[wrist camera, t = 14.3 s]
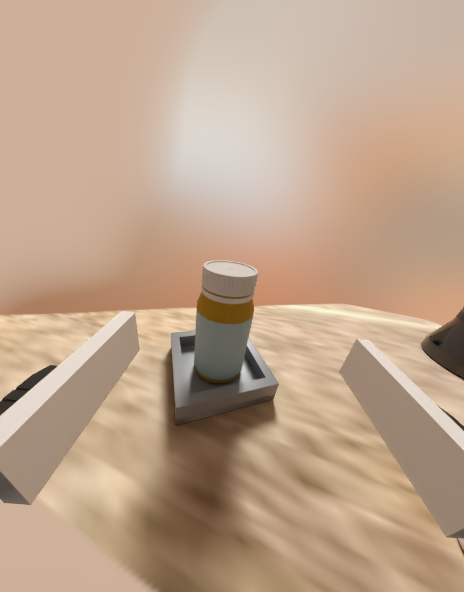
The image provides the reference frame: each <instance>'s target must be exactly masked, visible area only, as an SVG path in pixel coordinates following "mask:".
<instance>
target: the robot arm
mask: <svg viewBox="0 0 464 592" xmlns="http://www.w3.org/2000/svg"><path fill="white" fill-rule="evenodd" d="M421 347H422V349H423V350H424V351H425V352H426V353H427V354H428V355H429V356H430V357H431V358H432V359H434V360H435V361H436V362H438V363H439V364H441V365H442V366H444V367H445V368H447V369H448V370H450V371H452V372H454V373H455V374H457V375H459V376H461V377H463V378H464V307H463V309H462V310H461V311H460V312H459V314H458V315H457V316H456V317H455V318H454V319H453V320H452V321H450V322H449V323H447V324H445V325H444V326H442V327H440V328H439V329H437V330H435V331H434V332H432V333H430V334H429V335H428V336H426V338H425V339H424V340H423V342H422V343H421ZM139 350H140V349H139V341H138V333H137V325H136V317H135V313H132V312H124V311H121V312H120V313H119V314H118V315H116V316H115V317H114V318H113V319H112V320H111V321H109V322H108V323H107V324H106V325H105V326H104V327H103V328H101V329H100V330H99V331H98V332H97V333H96V334H94V335H93V336H92V337H91V338H90V339H89V340H87V341H86V342H85V343H84V344H83V345H82V346H80V347H79V348H78V349H77V350H76V351H75V352H74V353H72V354H71V355H70V356H69V357H68V358H67V359H65V360H64V361H63V362H62V363H61V364H60V365H58V366H54V365H50V366H48V367H46V368H44V369H42V370H41V371H39V372H37V373H35V374H33V375H32V376H30V377H29V378H28V379H27V380H25V381H24V382H23V383H22V384H20V385H19V386H18V387H17V388H16V390H13V391H12V392H10V393H9V394H8V395H7V396H5V397H4V398H3V400H2V401H1V402H0V499H1V500H2V501H3V502H4V503H14V504H26V505H31V504H32V503H33V501H34V500H35V498H36V497H37V495H38V494H39V493H40V491H41V490H42V488H43V487H44V485H45V484H46V483H47V481H48V480H49V478H50V477H51V475H52V474H53V473H54V471H55V470H56V468H57V467H58V465H59V464H60V463H61V461H62V460H63V458H64V457H65V455H66V454H67V453H68V451H69V450H70V448H71V447H72V446H73V444H74V443H75V441H76V440H77V438H78V437H79V436H80V434H81V433H82V431H83V430H84V428H85V427H86V426H87V424H88V423H89V421H90V420H91V418H92V417H93V416H94V414H95V413H96V411H97V410H98V408H99V407H100V406H101V404H102V403H103V401H104V400H105V398H106V397H107V396H108V394H109V393H110V391H111V390H112V388H113V387H114V386H115V384H116V383H117V381H118V380H119V378H120V377H121V376H122V374H123V373H124V371H125V370H126V368H127V367H128V366H129V364H130V363H131V361H132V360H133V359H134V357H135V356H136V354H137V353H138V351H139ZM339 372H340V374H341V375H342V377H343V378H344V380H345V381H346V383H347V385H348V386H349V388H350V389H351V391H352V392H353V394H354V395H355V397H356V398H357V400H358V401H359V403H360V405H361V406H362V408H363V409H364V411H365V412H366V414H367V415H368V417H369V418H370V420H371V422H372V423H373V425H374V426H375V428H376V429H377V431H378V432H379V434H380V435H381V437H382V439H383V440H384V442H385V443H386V445H387V446H388V448H389V449H390V451H391V452H392V454H393V455H394V457H395V459H396V460H397V462H398V463H399V465H400V466H401V468H402V469H403V471H404V472H405V474H406V476H407V477H408V479H409V480H410V482H411V483H412V485H413V486H414V488H415V489H416V491H417V493H418V494H419V496H420V497H421V499H422V500H423V502H424V503H425V505H426V506H427V508H428V509H429V511H430V513H431V514H432V516H433V517H434V519H435V520H436V522H437V523H438V525H439V526H440V528H441V530H442V531H443V533H444V534H445V536H446V537H451V538H464V426H463V425H461V424H460V423H459V422H458V421H457V420H456V419H455V418H454V417H453V416H451V415H450V414H448V413H447V412H446V411H444V410H443V409H442V408H440V407H439V406H437V405H436V404H435V403H434V402H433V401H432V400H431V399H430V398H429V397H428V396H427V395H426V394H425V393H424V392H423V391H422V390H421V389H419V388H418V387H417V386H416V385H415V384H414V383H413V382H412V381H411V380H410V379H409V378H408V377H407V376H406V375H405V374H404V373H403V372H402V371H401V370H400V369H399V368H398V367H397V366H396V365H394V364H393V363H392V362H391V361H390V360H389V359H388V358H387V357H386V356H385V355H384V354H383V353H382V352H381V351H380V350H379V349H378V348H377V347H376V346H375V345H374V344H373V343H372V342H370V341H369V340H363V339H356V341H355V343H354V345H353V347H352V349H351V351H350V352H349V354H348V356H347V358H346V360H345V362H344V364H343V366H342V367H341V369H340V371H339Z"/></svg>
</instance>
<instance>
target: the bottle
mask: <svg viewBox="0 0 464 592" xmlns="http://www.w3.org/2000/svg"><path fill="white" fill-rule="evenodd" d="M257 276H258V271H257V270H256V269H255V268H254V267H252V266H249V265H247V264H243V263H239V262H234V261H225V260H214V261H208V262H206V263H205V264H204V266H203V275H202V292H201V295H200V297H199V299H198V301H197V315H196V333H195V352H194V368H195V370H196V372H197V374H198V375H199V376H200V377H201V378H203V379H205V380H207V381H209V382H212V383H227V382H229V381H232V380H234V379H235V378H236V377H237V376H238V375H239V374H240V372H241V369H242V366H243V361H244V356H245V351H246V347H247V342H248V337H249V333H250V328H251V323H252V318H253V312H254V304H253V295H254V290H255V286H256V281H257Z"/></svg>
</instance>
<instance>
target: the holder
mask: <svg viewBox="0 0 464 592" xmlns="http://www.w3.org/2000/svg"><path fill="white" fill-rule="evenodd" d="M195 333H196V331H187V332H176V333H171V353H172V370H173V387H174V404H175V421H176V425H180V424H183V423H187V422H191V421H194V420H198V419H202V418H206V417H209V416H213V415H217V414H220V413H224V412H228V411H232V410H235V409H239V408H243V407H246V406H250V405H254V404H257V403H261V402H265V401H269V400H272V399H274V396H275V393H276V390H277V387H278V385H279V383H278V382H277V380H276V379H275V377H274V375H273V374H272V372H271V371H270V369H269V368H268V366H267V365H266V363H265V361H264V360H263V358H262V357H261V355H260V354H259V352H258V351H257V349H256V347H255V346H254V344H253V343H252V341H251V340H250V338H249V337H248V342H247V347H246V351H245V356H244V361H243V366H242V369H241V372H240V374H239V375H238V376H237V377H236V378H235V379H234V380H232V381H229V382H227V383H212V382H209V381H207V380H205V379H203V378H201V377H200V376H199V375H198V374H197V372H196V370H195V368H194V352H195Z"/></svg>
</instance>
